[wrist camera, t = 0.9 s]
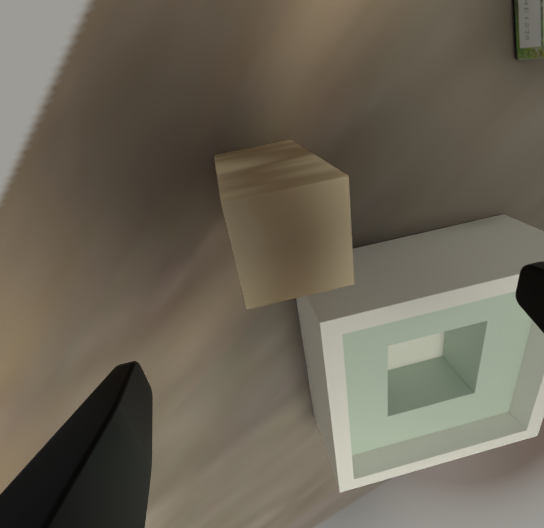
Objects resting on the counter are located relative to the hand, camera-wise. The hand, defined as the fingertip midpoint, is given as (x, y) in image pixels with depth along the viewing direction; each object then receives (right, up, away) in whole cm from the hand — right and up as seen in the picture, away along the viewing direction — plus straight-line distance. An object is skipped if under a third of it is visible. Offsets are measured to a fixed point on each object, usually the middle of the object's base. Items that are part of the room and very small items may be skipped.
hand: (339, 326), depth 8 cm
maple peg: (-2, +6, +11) cm, 12 cm away
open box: (+7, -3, +17) cm, 19 cm away
